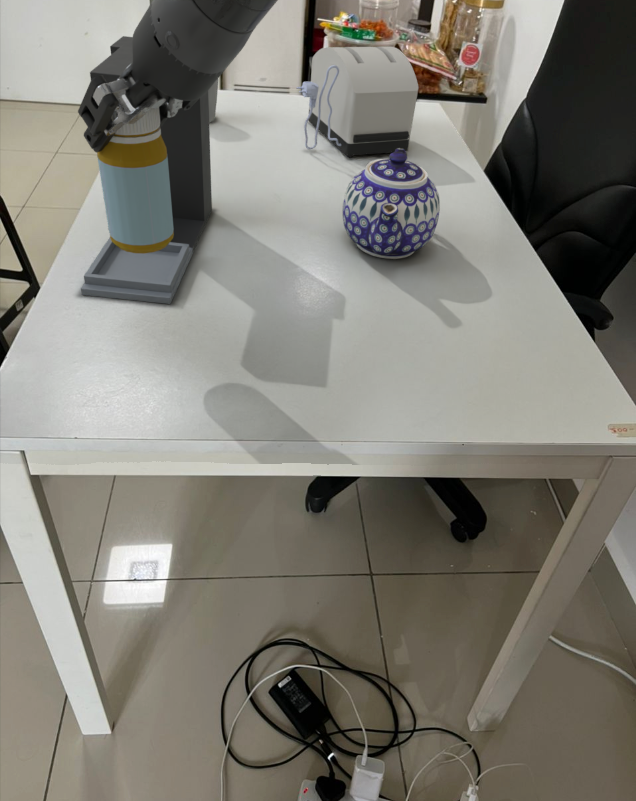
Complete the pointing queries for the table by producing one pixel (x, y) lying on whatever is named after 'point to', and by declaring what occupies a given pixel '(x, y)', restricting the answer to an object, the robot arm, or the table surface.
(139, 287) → the coffee maker
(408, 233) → the teapot
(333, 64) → the toaster
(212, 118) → the cup
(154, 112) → the bottle
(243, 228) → the table surface
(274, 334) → the table surface
